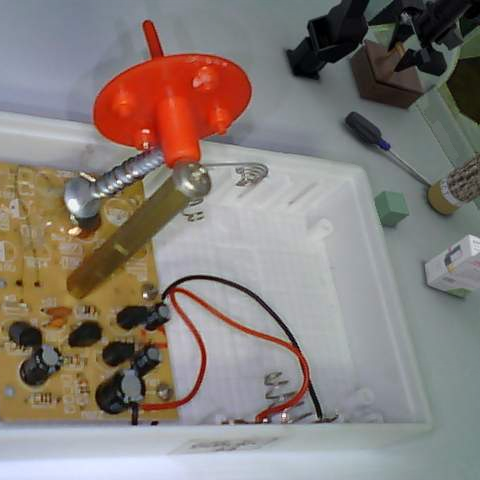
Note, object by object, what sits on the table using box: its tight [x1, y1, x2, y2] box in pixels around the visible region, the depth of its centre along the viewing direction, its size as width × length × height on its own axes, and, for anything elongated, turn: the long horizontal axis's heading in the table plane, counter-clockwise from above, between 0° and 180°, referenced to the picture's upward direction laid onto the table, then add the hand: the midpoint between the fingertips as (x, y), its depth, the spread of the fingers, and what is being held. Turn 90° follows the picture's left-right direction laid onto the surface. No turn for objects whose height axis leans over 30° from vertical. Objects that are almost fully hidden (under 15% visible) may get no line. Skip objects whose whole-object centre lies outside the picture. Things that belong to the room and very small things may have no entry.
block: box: [373, 189, 410, 227], centre depth 148 cm, size 5×5×5 cm
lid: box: [363, 38, 425, 96], centre depth 164 cm, size 13×11×5 cm
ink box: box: [424, 234, 480, 298], centre depth 142 cm, size 9×5×15 cm, turn 84°
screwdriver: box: [344, 110, 434, 188], centre depth 158 cm, size 26×4×4 cm, turn 65°
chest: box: [349, 44, 423, 110], centre depth 168 cm, size 13×11×5 cm
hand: (392, 61), depth 164 cm, fingers closed on lid, 5 cm apart
